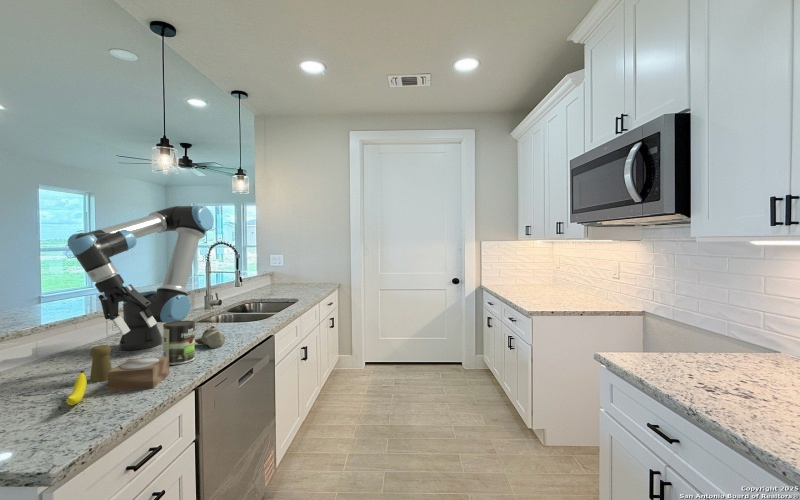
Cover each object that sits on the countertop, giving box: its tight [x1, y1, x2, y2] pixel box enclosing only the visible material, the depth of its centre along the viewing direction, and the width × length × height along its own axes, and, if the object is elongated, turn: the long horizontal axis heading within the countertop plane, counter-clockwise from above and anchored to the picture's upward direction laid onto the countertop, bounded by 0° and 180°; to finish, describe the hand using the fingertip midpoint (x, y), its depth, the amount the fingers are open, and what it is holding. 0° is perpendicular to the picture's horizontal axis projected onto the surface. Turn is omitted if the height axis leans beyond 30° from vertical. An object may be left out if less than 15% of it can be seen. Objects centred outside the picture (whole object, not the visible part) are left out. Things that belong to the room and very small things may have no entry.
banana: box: [65, 370, 88, 406], centre depth 100 cm, size 3×19×6 cm, turn 33°
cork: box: [89, 344, 113, 384], centre depth 117 cm, size 6×6×11 cm
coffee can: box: [162, 320, 196, 366], centre depth 135 cm, size 10×10×14 cm
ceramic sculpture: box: [195, 325, 226, 349], centre depth 155 cm, size 11×9×15 cm
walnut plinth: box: [107, 356, 171, 393], centre depth 115 cm, size 12×12×6 cm
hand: (139, 329), depth 131 cm, fingers open, 13 cm apart
